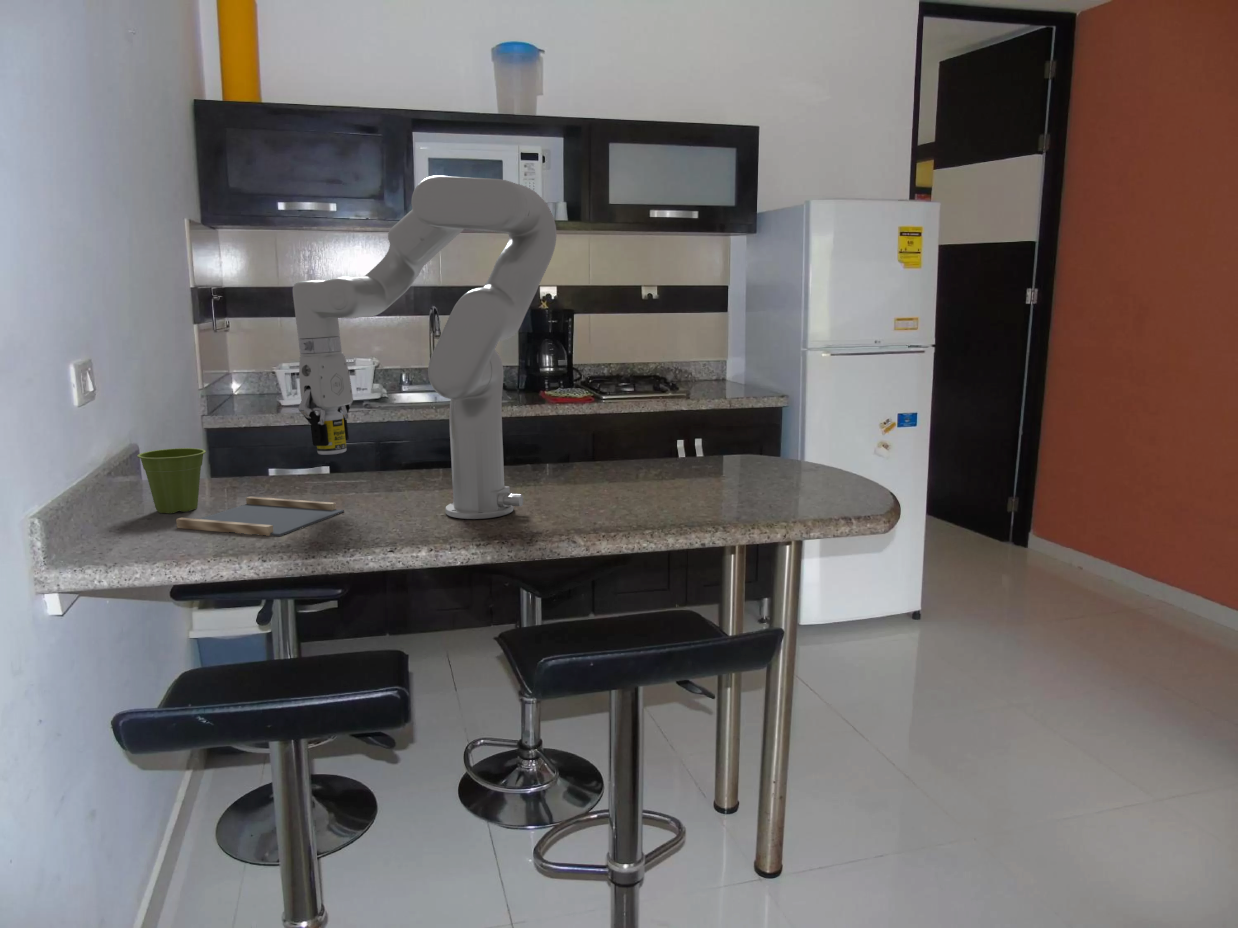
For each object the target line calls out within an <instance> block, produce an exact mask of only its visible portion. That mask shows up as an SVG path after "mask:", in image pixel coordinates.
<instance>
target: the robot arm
mask: <svg viewBox="0 0 1238 928" xmlns="http://www.w3.org/2000/svg"><path fill="white" fill-rule="evenodd" d="M411 208H412V209H411V210H410V211H408V213H406V215H404V216H403V217H402V218H401V219H400V220H399V221H398V222H396V223H395V224H394V225H393V226H392V227H391V228H390V229H389V230H388V233H387V239H388V243H389V247H388V251H387V252H386V253H385V256H384V257H383V258H382V259H381V260H380V262H378V263H377V264H376V265H375V266H374V267H373V268H372V269H371V270H369V272H368V273H366V274H365V275H364V276H340V277H334V278H330V279H326V280H325V279H322V280H321V279H315V280H302V281H297V282H295V283H294V285H293V286H292V297H293V298H292V300H293V307H294V315H295V322H296V323H295V324H296V331H297V339H298V340H297V341H298V348H299V355H300V356H299V364H298V365H299V368H298V371H299V373H298V374H299V375H298V378H299V379H298V381H299V390H300V393H299V394H300V398H301V399H300V400H301V401H300V403H299V405H298V407H297V408H298V409H297V410H298V412H300V413H301V415H303V417H304V418H305V419H306V421H307V424H308V426H310V431H311V432H310V433H311V440H312V441H311V442H312V445H313V446H314V447H317V446H327V445H328V444H329V441H328V432H327V425H326V424H324V417H325V409H330V408H335V407H338V409H337V410H338V412H340V413H342V414H343V418H344V428H345V438H346V441H348V440H349V429H348V427H349V426H348V419H349V414H348V413H349V411H350V407H351V406H352V404H353V402H354V397H353V390H352V382H351V376H350V371H349V367H348V363H347V360H346V356H345V353H344V352H343V351H342V350H343V349H342V344H341V343H342V342H341V340H342V339H341V336H340V335H341V333H340V324H339V319H343V320H345V319H349V320H350V319H358V318H372V317H375V316H377V315H380V314H381V313H384V312H385V311H386V310H387V309H388V308H389V307H391V305H393V304H394V303H395V302H396V301H398V300H399V299H400V298H401V297H402V296H403V295H404V294H405V293H406V292H407V291H408V290H409V289H410V288H411V286H413V284H414V282H415V281H416V279H417V278H418V276H419V275H420V273H421V271H422V270H423V268H424V267H425V265H426V264H427V263H428V262H430V261H431V260H432V259H433V258H434V257H436V255H437V254H439V253H440V252H441V251H442V250H443V249H444V248H445V247H446V246H447V245H449V244H450V243H451V242H452V241H453V240H454V239H455V238H456V237H458V236H459V235H460V234H461V233H462V232H463V231H464V230H467V231H469V230H470V231H483V232H484V231H485V232H493V233H494V232H495V233H502V234H507V235H508V239H507V240H508V241H507V243H506V245H505V246H504V248H503V250H502V251H501V253H500V254H499V255H498V257H497V259H496V261H495V263H494V266H493V269H492V271H491V273H490V274H489V277H488V279H487V280H486V282H485V284H484V285H483V286H482V287H475V288H472V289H471V290H468V291H467V292H465V293H464V294H463V295H462V296H461V297H460V298H459V299H458V301H456V303H455V304H454V306H453V308H452V311H451V312H450V313H449V317H448V318H447V320H446V322H445V325H444V327H443V329H442V332H441V334H440V336H439V338H438V340H437V342H436V344H435V347H434V349H433V351H432V353H431V355H430V359H429V362H428V369H427V375H428V381H429V383H430V385H431V387H432V389H433V390H434V391H435V392H436V393H437V394H438V395H440V396H441V397H443V398H445V399H448V400H449V401H450V402H449V412H448V413H449V420H448V421H449V437H450V438H449V439H450V441H449V442H450V458H451V459H450V461H451V477H452V479H451V481H452V496H453V497H452V498H453V500H452V501H453V502H451V503H449V504H448V505H446V506H445V514H446V515H447V516H449V517H451V518H455V519H463V520H464V519H465V520H481V519H493V518H498V517H502V516H506V515H509V514H510V513H512V512H513V511H514V507H522V506H523V504H524V497H523V494H522V493H521V494H520V493H511V492H510V490H511V489H510V486H508V485H505V473H504V471H505V470H504V469H505V468H504V445H503V444H504V443H503V419H502V418H503V417H502V415H503V414H502V411H503V409H502V408H503V407H502V404H503V403H502V401H503V400H502V399H503V389H504V387H503V386H504V365H503V361H502V358H501V357H500V355H499V353H498V352H497V350H496V347H497V345H498V343H499V342H502V341H503V342H504V341H508V340H509V339H510V338H512V337H514V336H515V335H516V334H517V333H518V331H519V330H520V328H521V326H522V323H523V322H524V319H525V317H526V315H527V313H528V310H529V308H530V306H531V304H532V302H533V299H534V298H535V295H536V294H537V291H538V288H539V286H540V284H541V282H542V280H543V277H544V275H545V273H546V271H547V269H548V267H549V264H550V262H551V260H552V258H553V254H554V252H555V248H556V243H557V226H556V221H555V218H554V215H553V212H552V211H551V209H550V207H549V206H548V204H547V203H546V201H545V200H544V199H543V197H542V196H541V195H539V194H538V193H537V192H536V191H535V190H533V189H532V188H530V187H528V186H525V185H522V184H519V183H516V182H513V181H510V180H506V179H501V178H489V177H487V178H486V177H485V178H483V177H467V176H465V177H463V176H448V175H437V174H436V175H431V176H428V177H426V178H424V179H423V180H421V181H420V182H418V184H417V185H416V186H415V188H414V190H413V192H412V195H411ZM316 405H317V406H320V408H317V407H316ZM318 412H319V413H318ZM316 414H318V416H317V415H316Z"/></svg>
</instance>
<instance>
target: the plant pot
mask: <svg viewBox="0 0 1238 928" xmlns="http://www.w3.org/2000/svg"><path fill="white" fill-rule="evenodd" d="M206 453H207V451H206V450H205V449H203V448H197V447H196V448H195V447H184V448H183V447H180V448H179V447H178V448H165V449H164V448H163V449H157V450H155V449H154V450H151V451H145V452H140V453H138V454H137V455H136V456H137V458H138V459H139V460H140V461H141V464H142V467H143V470H144V472H145V474H146V478H147V481H148V485H149V489H150V492H151V496H152V500H153V502H154V503H153V504H154V507H155V510H156V512H158V513H160V514H174V513H177V512H183V513H187V512H190V511H194V510H196V509H197V508H198V505H199V493H200V492H199V491H200V482H201V468H202V465H203V460H204V455H205V454H206Z"/></svg>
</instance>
